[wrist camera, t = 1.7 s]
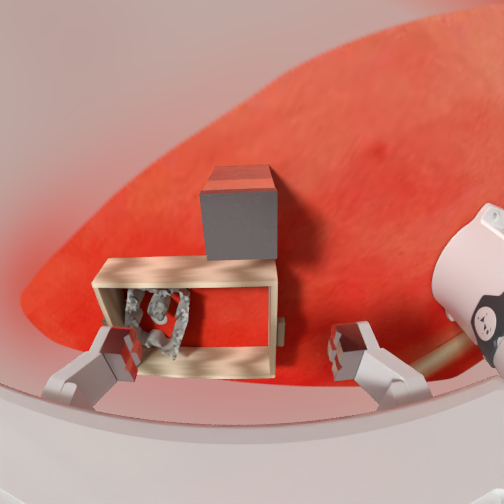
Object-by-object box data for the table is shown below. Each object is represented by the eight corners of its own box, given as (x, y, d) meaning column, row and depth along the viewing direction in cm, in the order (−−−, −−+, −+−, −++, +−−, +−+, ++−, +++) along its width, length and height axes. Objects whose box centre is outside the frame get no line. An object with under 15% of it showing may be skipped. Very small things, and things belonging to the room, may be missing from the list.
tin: (269, 163, 27) (277, 191, 19) (270, 214, 29) (277, 258, 22) (213, 165, 27) (199, 194, 19) (217, 216, 29) (207, 260, 22)
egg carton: (181, 341, 39) (176, 364, 35) (129, 325, 37) (120, 347, 34) (198, 283, 34) (193, 306, 30) (136, 264, 32) (125, 285, 29)
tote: (282, 253, 32) (287, 280, 27) (279, 348, 39) (282, 377, 35) (102, 258, 32) (84, 282, 27) (134, 347, 39) (125, 373, 35)
